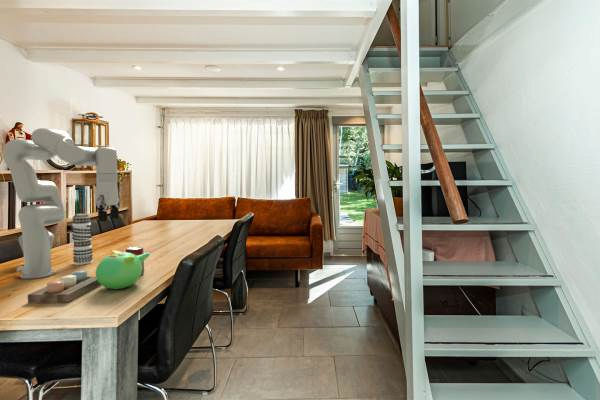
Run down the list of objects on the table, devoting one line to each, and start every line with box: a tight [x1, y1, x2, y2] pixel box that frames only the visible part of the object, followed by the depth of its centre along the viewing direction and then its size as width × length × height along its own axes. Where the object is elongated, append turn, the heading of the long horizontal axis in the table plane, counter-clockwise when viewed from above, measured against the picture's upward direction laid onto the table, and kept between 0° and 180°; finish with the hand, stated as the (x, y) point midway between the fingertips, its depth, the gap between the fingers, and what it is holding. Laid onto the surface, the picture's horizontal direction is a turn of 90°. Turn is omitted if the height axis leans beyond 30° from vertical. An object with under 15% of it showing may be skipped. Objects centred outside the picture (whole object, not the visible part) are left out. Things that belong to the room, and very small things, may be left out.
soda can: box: [124, 246, 145, 276], centre depth 155 cm, size 7×7×12 cm
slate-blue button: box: [71, 269, 88, 282], centre depth 138 cm, size 5×5×4 cm
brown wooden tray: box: [27, 275, 102, 304], centre depth 132 cm, size 14×22×3 cm, turn 1°
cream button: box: [59, 274, 77, 287], centre depth 132 cm, size 5×5×4 cm
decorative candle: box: [70, 213, 94, 266], centre depth 178 cm, size 9×9×25 cm
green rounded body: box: [95, 249, 151, 290], centre depth 137 cm, size 18×17×15 cm
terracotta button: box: [46, 279, 64, 294], centre depth 125 cm, size 5×5×4 cm
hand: (109, 219), depth 143 cm, fingers open, 9 cm apart
